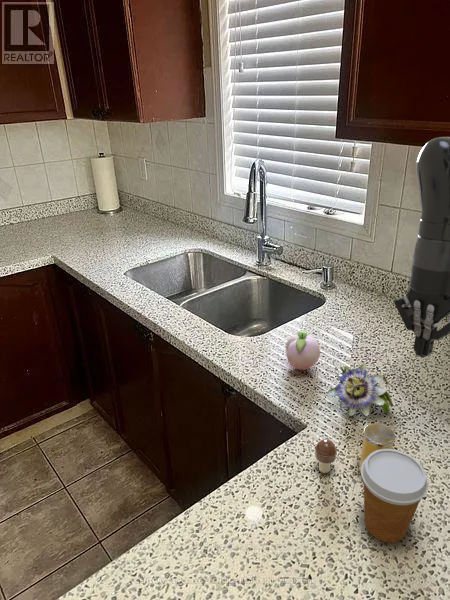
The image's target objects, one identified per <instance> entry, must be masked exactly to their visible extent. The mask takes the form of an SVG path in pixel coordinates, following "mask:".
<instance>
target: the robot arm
mask: <svg viewBox="0 0 450 600" xmlns="http://www.w3.org/2000/svg"><path fill="white" fill-rule="evenodd" d="M415 170H416V171H415V172H416V180H417V186H418V193H419V194H418V195H419V201H420V209H421V214H420V218H419V219H420V220H419V224H418V225H419V226H418V233H417V239H416V243H415V245H414V249H413V256H412V264H411V272H410V278H409V289H408V291H406V296H402V297H400V298H397V299H394V306H395V308H396V309H397V312H398V314H399V316H400V318H401V321H402V323H403V324H404V326H405V328H406V330H407V331H412V332H413V334H414V336H415V337H414V343H413V351H414V352H415V353H414V354H415V356H417V357H420V358H422V359H424V358H427V357H428V356H429V355H431V354H432V353H433V351H434V344H435V341H439V340H441V339H444V338H445V337H447V336H449V335H450V136H439V137H433V138H432V139H430V140H428V141H427V142H426V143H425V145H424V146H423V147H422V148H421V150H420V152H419V154H418V157H417V160H416V169H415ZM447 316H448V318H447V324H445V325H444V326H442V327H441V328H440V329H439V327H440V326H441V325H442V321H443V320H444V319H445V318H446V317H447Z"/></svg>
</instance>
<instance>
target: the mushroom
mask: <svg viewBox="0 0 450 600" xmlns="http://www.w3.org/2000/svg"><path fill="white" fill-rule="evenodd" d="M337 454H338V449H337V447H336V446H335V443H334V442H333V441H332V440H330V439H328V438H322V439H321V440H319V441H318V442H317V444H316V445H315V447H314V457H315V459H316V460H317V461H318V471H320V472H321V473H323V474H327V473H329V472H330V471H331V464H333V463H334V462H335V461H336V459H337Z"/></svg>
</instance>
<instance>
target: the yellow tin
mask: <svg viewBox="0 0 450 600" xmlns="http://www.w3.org/2000/svg"><path fill="white" fill-rule="evenodd" d="M395 440H396V434H395V431H394V430H392V428H390V427H389V426H387V425H385V424H382V423H369V424H367V425H366V426H365V427H364V429H363V438H362V444H361V453H360V460H359V469H358V471H359V474H361V466H362V463H363V462H364V460H365V459H366V458H367V457H368V456H369V455H370V454H371V453H372V452H374V451H376V450H381V449H393V448H394V444H395ZM393 450H394V449H393Z"/></svg>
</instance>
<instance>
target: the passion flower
mask: <svg viewBox="0 0 450 600" xmlns="http://www.w3.org/2000/svg"><path fill="white" fill-rule="evenodd" d="M339 369H340V370H341V373H339V374H337V376H336V378H337V379H338V380H339V383H338V384H337V385H336V386H335V387H333V388H331V389H329V390H328V391H327V395H329V396H330V397H337V398H338V399H339V400H340V403H339V407H340V409H345V408H346V409H348V411H347V412H348V416H349V417H352V416H355V414H356V413H357V411H358V410H360V411H361V414H363V415H364V416H365V417H368V416H369V415H370V414H371V408H372V405H376V406H380V407H381V410H382V411H383V413H384V414H388V413H389V412H390V407H391V408H392V407H394V403H393V401H392V398H391V395H390V394H389V392H388V391H387V390H386V389H385V388H384V387H383V386H381V385H379V383H380V382H381V381H382V380H384V381H385V385H390V384H389V383H390V382H389V380H388V378H387V377H386V375H385V374H373V375H370V374H369V373H368V366H367V364H366V363H365V362H363V363H360V364H359V366H358V367H355V368H351V367H350V366H348V365H345V366H344V368H343V367H342V366H340V367H339Z"/></svg>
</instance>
